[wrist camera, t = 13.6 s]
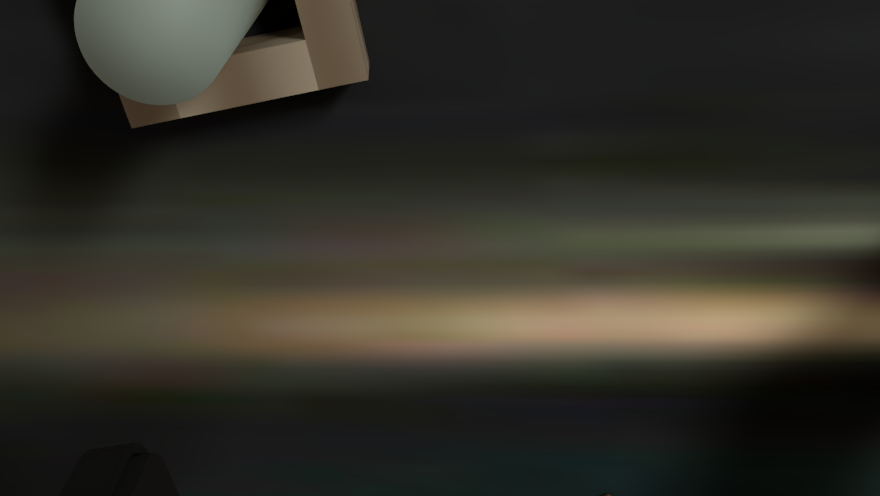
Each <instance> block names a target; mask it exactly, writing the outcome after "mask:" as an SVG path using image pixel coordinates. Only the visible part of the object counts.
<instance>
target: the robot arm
mask: <svg viewBox="0 0 880 496" xmlns="http://www.w3.org/2000/svg"><path fill="white" fill-rule="evenodd" d="M59 496H179V494H178V491H177V489H176V487H175V485H174V482H173V480H172V478H171V475H170V473H169V471H168V469H167V466H166V464H165V462H164V460H163V458H162V457H161V456H160V455H159V454H158V453H150V454H149V453H148V452H147V450H146V448H145V447H144V446H142V445H141V444H139V443H131V444H125V445H118V446H112V447H106V448H100V449H94V450H89V451H87V452H85V453H84V454H83V455H82V457H81V458H80V459H79V461H78V463H77V464H76V466H75V468H74V470H73V472H72V474H71V475H70V477H69V479H68V481H67V483H66V484H65V486H64V488H63V490H62V492H61V493H60V495H59Z"/></svg>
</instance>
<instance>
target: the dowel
mask: <svg viewBox="0 0 880 496" xmlns="http://www.w3.org/2000/svg"><path fill="white" fill-rule="evenodd" d="M268 1H269V0H77V1H76V5H75V11H74V29H75V34H76V39H77V42H78V45H79V48H80V50H81V53H82V55H83V57H84V59H85V60H86V62H87V63H88V65H89V67H90V68H91V69H92V70H93V72H94V73H95V74H96V75H97V76H98V77H99V78H100V79H101V80H102V81H103V82H104V83H105V84H106V85H107V86H109V87H110V88H111V89H113V90H114V91H116V92H117V93H119V94H121V95H123V96H125V97H127V98H129V99H132V100H134V101H137V102H141V103H145V104H151V105H171V104H177V103H181V102H184V101H187V100H189V99H192V98H194V97H195V96H197V95H199V94H200V93H202V92H203V91H204V90H205V89H206V88H208V86H209V85H210V84H211V83H212V82H213V81H214V80H215V78H216V77H217V75H218V74H219V72H220V71H221V69H222V68H223V66H224V65H225V64H226V62H227V61H228V59H229V58H230V56H231V55H232V53H233V52H234V50H235V49H236V48H237V46H238V45H239V43H240V42H241V40H242V39H243V37H244V36H245V34H246V33H247V32H248V30H249V29H250V27H251V26H252V24H253V23H254V21H255V20H256V18H257V17H258V16H259V14H260V13H261V11H262V10H263V8H264V7H265V5H266V4H267V2H268Z"/></svg>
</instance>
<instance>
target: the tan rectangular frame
mask: <svg viewBox="0 0 880 496" xmlns="http://www.w3.org/2000/svg"><path fill="white" fill-rule="evenodd" d="M295 3H296V6H297V10H298V14H299V18H300V22H301V25H302V26H299V27H294V28H289V29H285V30H280V31H275V32H270V33H265V34H260V35H256V36H251V37H246V38H243V39H242V40H241V42H240V43H239V45H238V46H237V48H236V49H235V50H234V52H233V53H232V55H231V56H230V58H229V59H228V61H227V62H226V64H225V65H224V66H223V68H222V69H221V71H220V72H219V74H218V75H217V77H216V78H215V80H214V81H213V82H212V83H211V84H210V85H209V86H208V88H206V89H205V90H204V91H203V92H202V93H200V94H199V95H197V96H195V97H194V98H192V99H189V100H187V101H184V102H181V103H177V104H171V105H151V104H145V103H141V102H137V101H134V100H132V99H129V98H127V97H125V96H123V95H121V94H119V93H118V94H119V96H120V99H121V102H122V104H123V107H124V109H125V112H126V115H127V117H128V120H129V123H130V125H131V128H136V127H141V126H146V125H151V124H156V123H160V122H165V121H170V120H175V119H180V118H185V117H190V116H195V115H199V114H204V113H209V112H214V111H219V110H224V109H229V108H234V107H238V106H243V105H248V104H253V103H258V102H263V101H268V100H273V99H277V98H282V97H287V96H292V95H297V94H302V93H307V92H311V91H316V90H321V89H326V88H331V87H336V86H341V85H346V84H350V83H355V82H360V81H365V80H368V75H369V58H368V54H367V49H366V45H365V41H364V36H363V32H362V28H361V23H360V19H359V15H358V10H357V6H356V2H355V0H295Z"/></svg>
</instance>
